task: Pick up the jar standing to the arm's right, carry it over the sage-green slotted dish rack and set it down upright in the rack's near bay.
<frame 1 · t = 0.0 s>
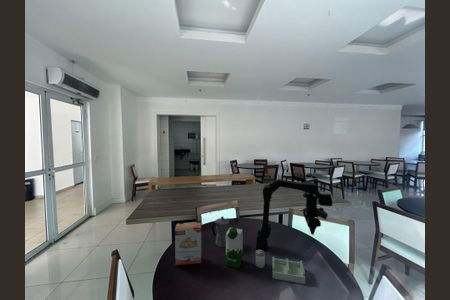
hand: (310, 230, 107), 15 cm above the table, fingers open, 9 cm apart
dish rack: (287, 273, 93), on the table
coffeepot: (221, 244, 120), on the table
cracker box: (188, 261, 102), on the table
milk carton: (234, 263, 101), on the table
jar: (260, 264, 100), on the table
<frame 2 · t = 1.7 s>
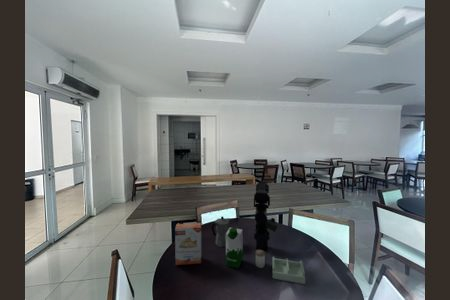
hand: (260, 243, 99), 12 cm above the table, fingers open, 9 cm apart
nothing on the table moved.
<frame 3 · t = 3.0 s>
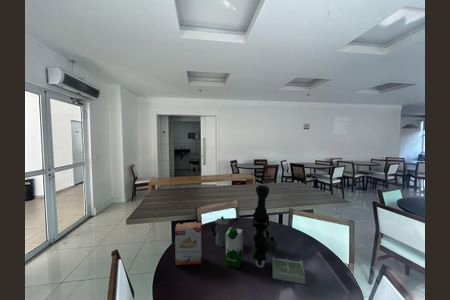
hand: (260, 261, 100), 2 cm above the table, fingers closed on jar, 5 cm apart
jar: (260, 264, 100), on the table, touching gripper
everything else where it was.
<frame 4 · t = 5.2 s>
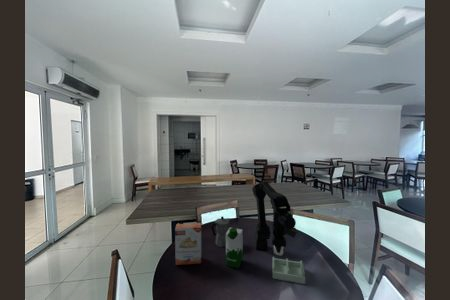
hand: (278, 249, 94), 12 cm above the table, fingers closed on jar, 5 cm apart
jar: (278, 252, 94), point 10 cm above the table, touching gripper
everything else where it was.
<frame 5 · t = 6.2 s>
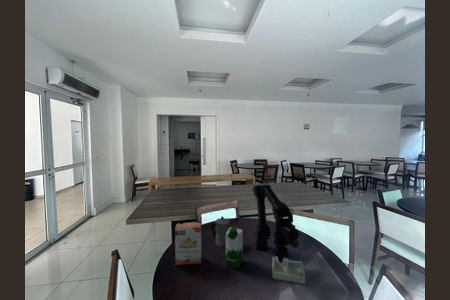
hand: (280, 259, 94), 7 cm above the table, fingers closed on jar, 5 cm apart
jar: (280, 262, 94), point 5 cm above the table, touching gripper
everything else where it was.
when the fingers open (4 cm above the table, at t = 7.1 s): jar drops 1 cm, resting on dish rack.
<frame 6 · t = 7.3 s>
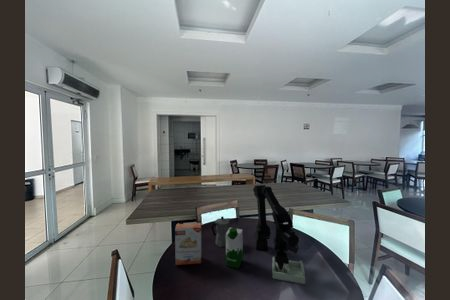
hand: (280, 264, 94), 4 cm above the table, fingers open, 7 cm apart
jar: (280, 270, 94), point 1 cm above the table, touching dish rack
everything else where it was.
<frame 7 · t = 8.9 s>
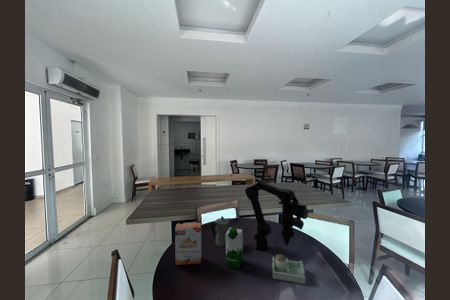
hand: (286, 240, 102), 12 cm above the table, fingers open, 9 cm apart
nothing on the table moved.
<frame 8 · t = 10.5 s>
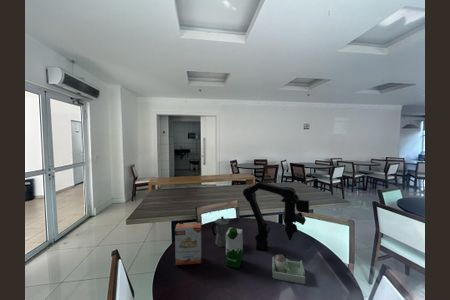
hand: (289, 235, 107), 12 cm above the table, fingers open, 9 cm apart
nothing on the table moved.
at the end: jar inside the target area on the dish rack (0.1 cm from its centre), point 0.8 cm above the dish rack's base; jar tilted 1°; the gripper is holding nothing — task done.
